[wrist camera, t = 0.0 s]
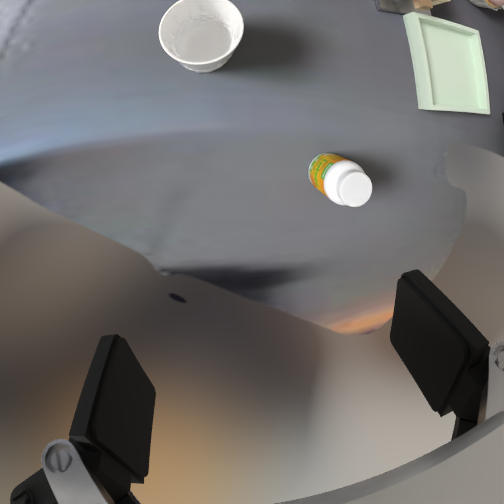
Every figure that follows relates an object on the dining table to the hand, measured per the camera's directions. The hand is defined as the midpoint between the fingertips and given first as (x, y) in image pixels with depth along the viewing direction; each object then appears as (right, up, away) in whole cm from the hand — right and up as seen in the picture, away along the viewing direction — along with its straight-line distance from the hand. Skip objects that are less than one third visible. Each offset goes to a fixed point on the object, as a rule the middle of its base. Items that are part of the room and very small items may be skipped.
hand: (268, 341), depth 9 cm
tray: (+31, +33, +23) cm, 50 cm away
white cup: (-6, +28, +21) cm, 35 cm away
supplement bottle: (+10, +14, +30) cm, 34 cm away
